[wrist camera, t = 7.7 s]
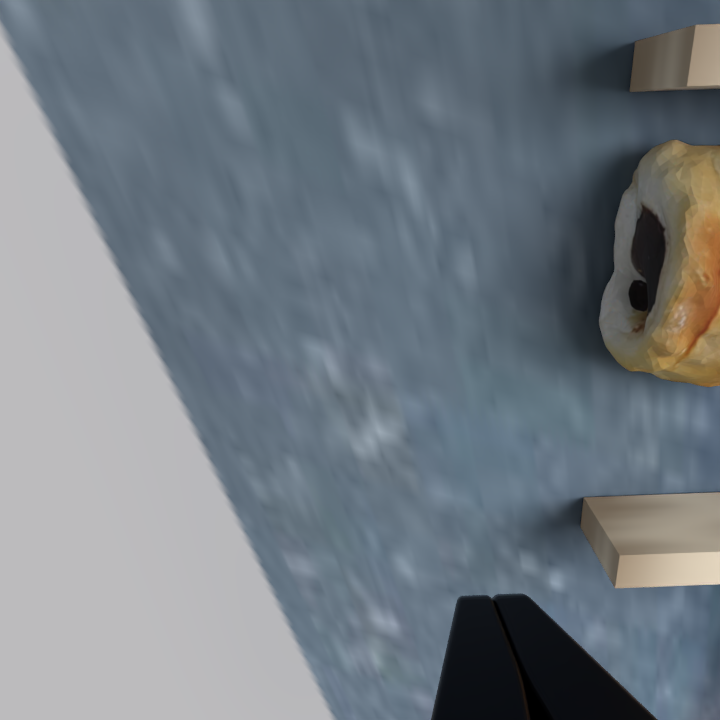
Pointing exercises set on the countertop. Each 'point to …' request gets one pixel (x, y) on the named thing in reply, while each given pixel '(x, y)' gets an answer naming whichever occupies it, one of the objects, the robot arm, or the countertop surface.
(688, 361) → the pastry
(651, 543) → the beige piece
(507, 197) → the countertop surface
